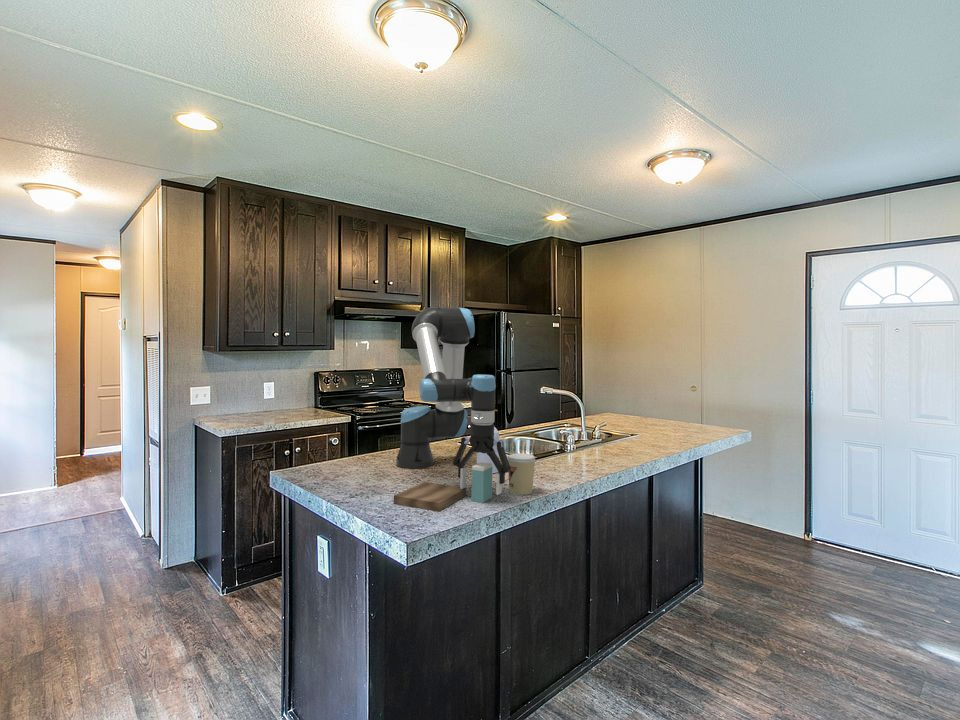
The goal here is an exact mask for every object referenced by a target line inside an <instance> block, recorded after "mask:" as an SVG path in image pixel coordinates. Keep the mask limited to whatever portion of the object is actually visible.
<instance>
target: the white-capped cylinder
mask: <svg viewBox="0 0 960 720" xmlns="http://www.w3.org/2000/svg"><path fill="white" fill-rule="evenodd" d="M507 459H508V462H509V465H510V468H511V471H509V472H507V473H508V488H509V492H510V493H511V494H514V495H517V496H518V495H519V496H523V495H530V494H532V493H533V487H534V477H535V475H534V474H535V466H536V465H535V461H536V457H535V456H534V454H531V453H530V454H529V453H523V452H522V453H518V452H517V453H510V454H509V455H508V456H507Z"/></svg>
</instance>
